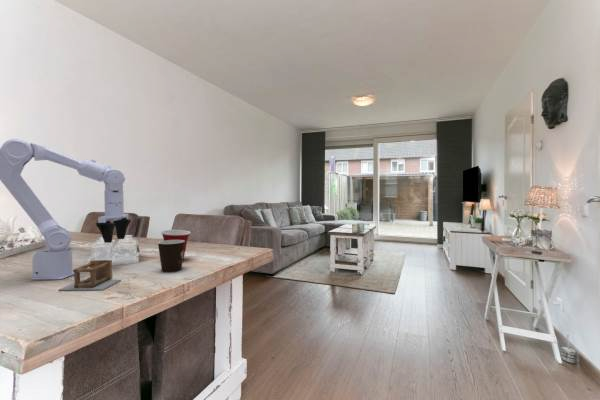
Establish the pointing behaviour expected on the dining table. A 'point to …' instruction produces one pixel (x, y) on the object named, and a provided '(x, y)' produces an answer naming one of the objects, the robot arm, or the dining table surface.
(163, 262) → the coffee mug
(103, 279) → the stool
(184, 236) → the plastic cup
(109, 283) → the felt mat
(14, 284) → the dining table surface
